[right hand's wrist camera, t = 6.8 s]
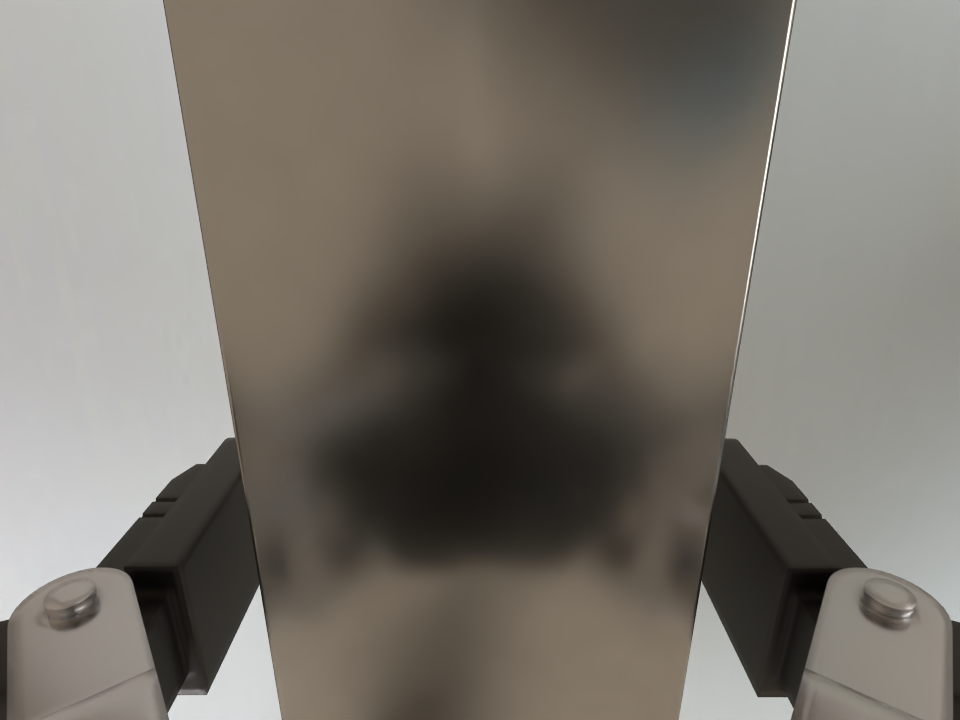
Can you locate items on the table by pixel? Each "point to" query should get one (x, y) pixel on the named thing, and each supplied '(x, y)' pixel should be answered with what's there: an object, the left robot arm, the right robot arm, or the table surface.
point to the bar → (480, 332)
